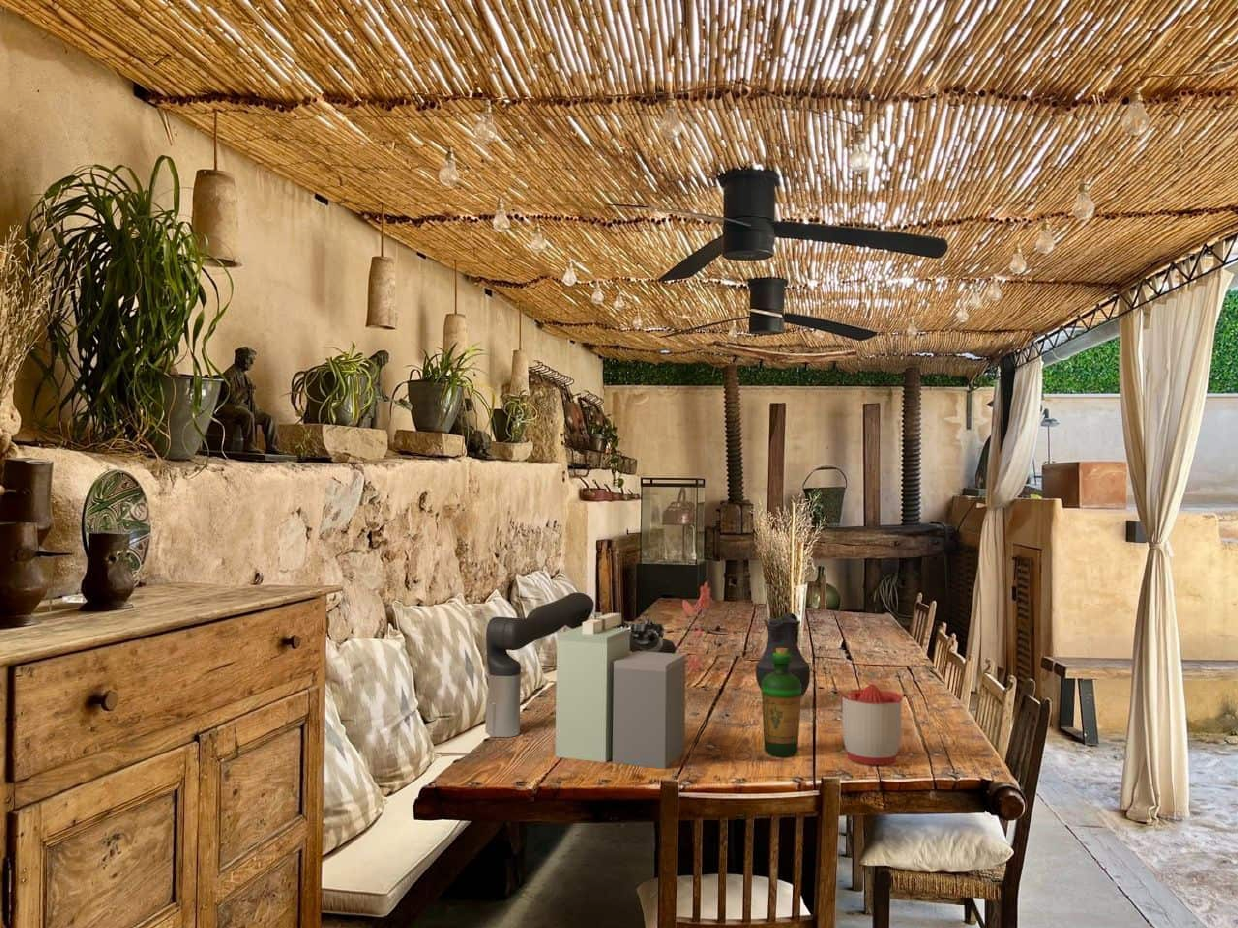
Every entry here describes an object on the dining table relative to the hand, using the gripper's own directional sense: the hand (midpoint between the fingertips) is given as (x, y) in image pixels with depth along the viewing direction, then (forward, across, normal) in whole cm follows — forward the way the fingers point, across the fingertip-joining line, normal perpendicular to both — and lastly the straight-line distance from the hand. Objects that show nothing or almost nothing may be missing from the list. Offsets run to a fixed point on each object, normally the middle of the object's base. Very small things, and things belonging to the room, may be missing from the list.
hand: (633, 620), depth 290 cm
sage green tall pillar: (+12, 0, +41) cm, 43 cm away
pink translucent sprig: (-95, -2, -13) cm, 96 cm away
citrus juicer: (-6, +70, +32) cm, 77 cm away
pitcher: (-54, +37, +8) cm, 66 cm away
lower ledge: (+12, +16, +41) cm, 46 cm away
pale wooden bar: (+22, -1, +10) cm, 24 cm away
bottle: (-3, +47, +33) cm, 58 cm away
